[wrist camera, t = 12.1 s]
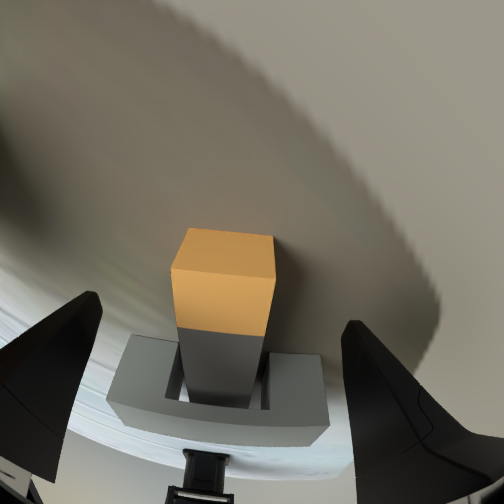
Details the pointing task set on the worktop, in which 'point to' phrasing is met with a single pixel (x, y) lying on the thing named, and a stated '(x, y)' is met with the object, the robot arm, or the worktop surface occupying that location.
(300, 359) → the housing
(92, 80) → the worktop surface
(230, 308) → the plug
